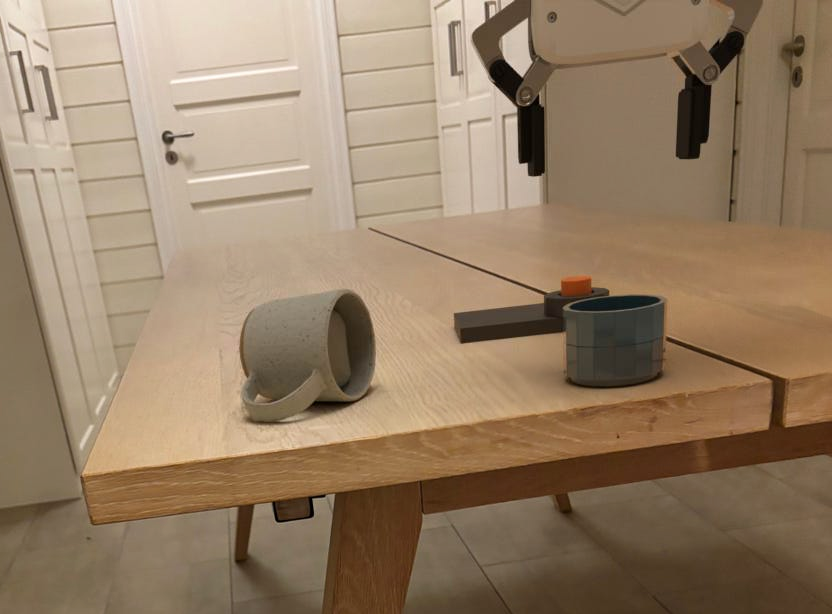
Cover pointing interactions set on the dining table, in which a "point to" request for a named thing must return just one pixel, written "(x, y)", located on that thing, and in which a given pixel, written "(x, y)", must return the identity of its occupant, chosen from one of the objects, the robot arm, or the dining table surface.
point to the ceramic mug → (306, 353)
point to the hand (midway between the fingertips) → (611, 167)
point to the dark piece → (518, 318)
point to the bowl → (614, 339)
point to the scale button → (576, 286)
